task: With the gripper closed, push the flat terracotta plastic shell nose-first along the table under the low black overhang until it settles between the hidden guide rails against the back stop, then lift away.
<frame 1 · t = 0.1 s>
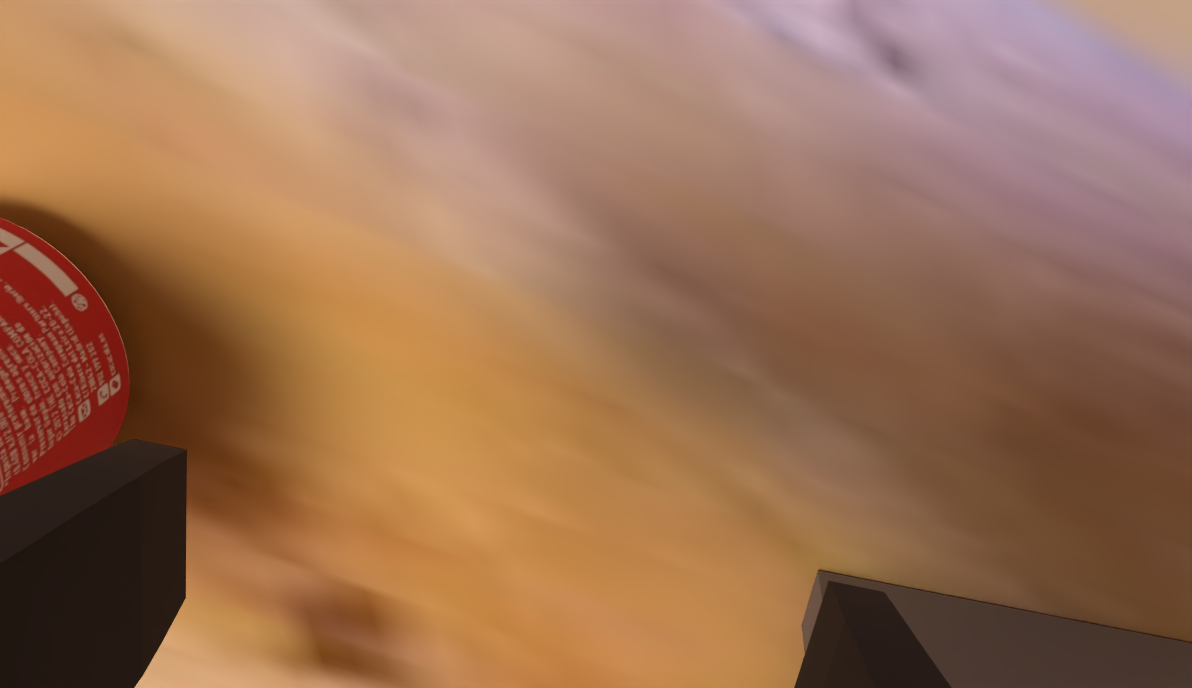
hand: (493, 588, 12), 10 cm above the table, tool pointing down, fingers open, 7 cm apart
beverage can: (18, 329, 23), on the table
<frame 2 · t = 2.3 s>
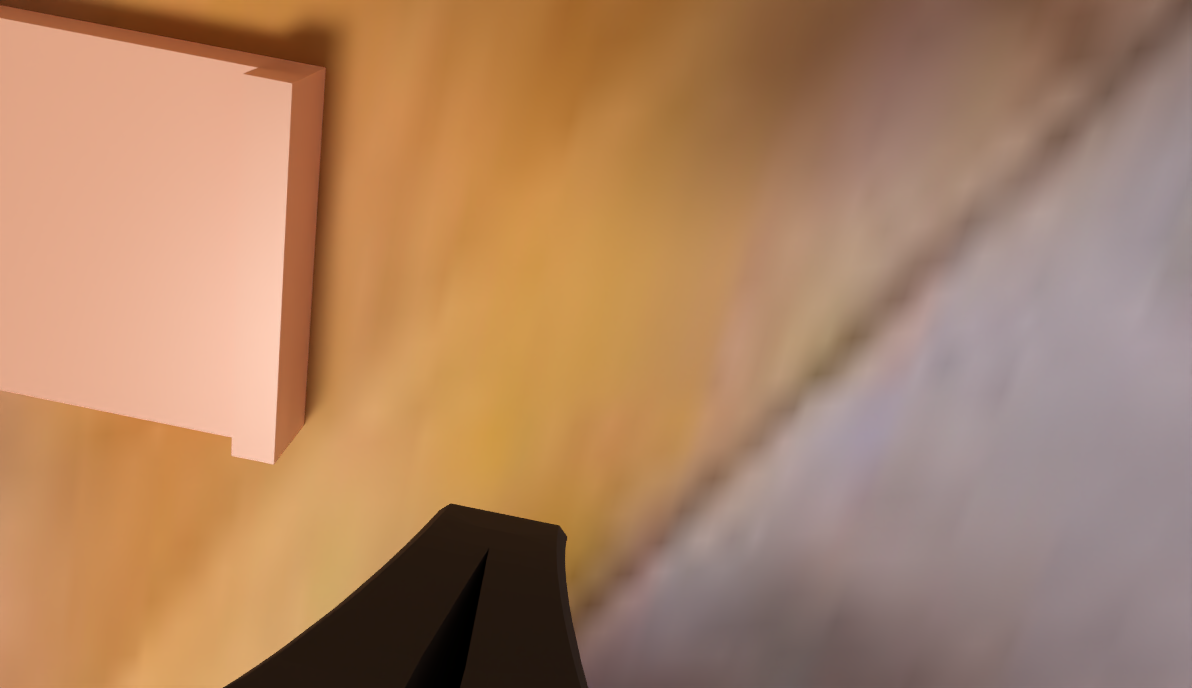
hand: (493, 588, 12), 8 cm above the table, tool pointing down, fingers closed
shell: (84, 208, 20), on the table
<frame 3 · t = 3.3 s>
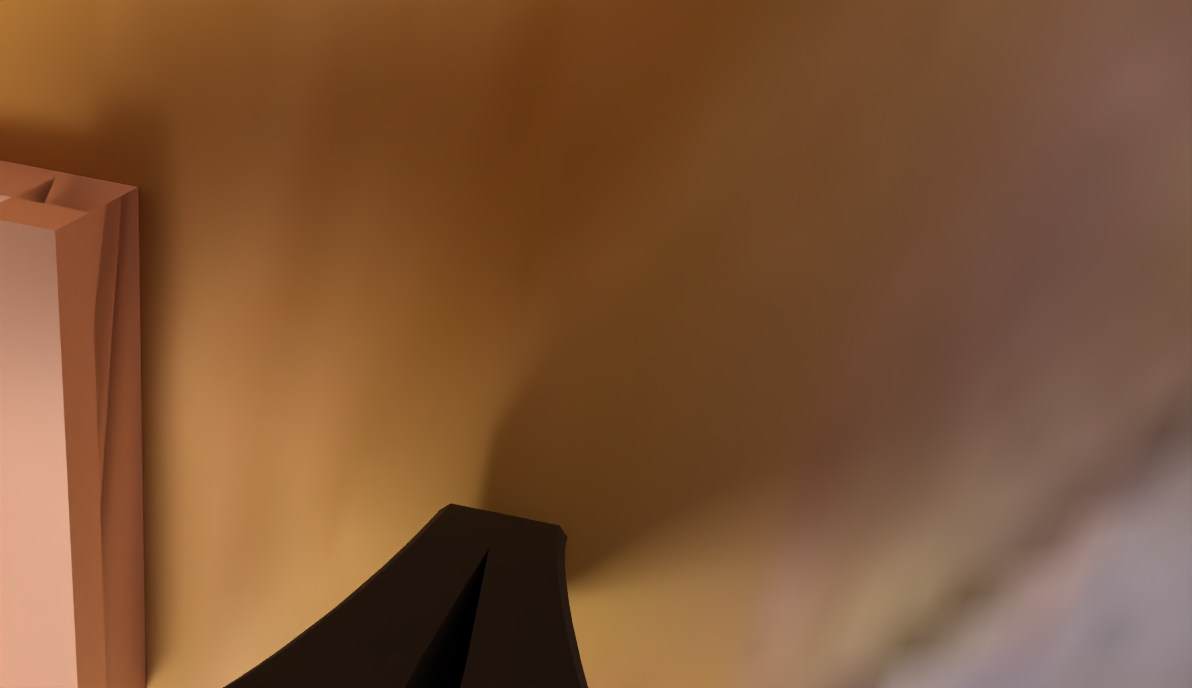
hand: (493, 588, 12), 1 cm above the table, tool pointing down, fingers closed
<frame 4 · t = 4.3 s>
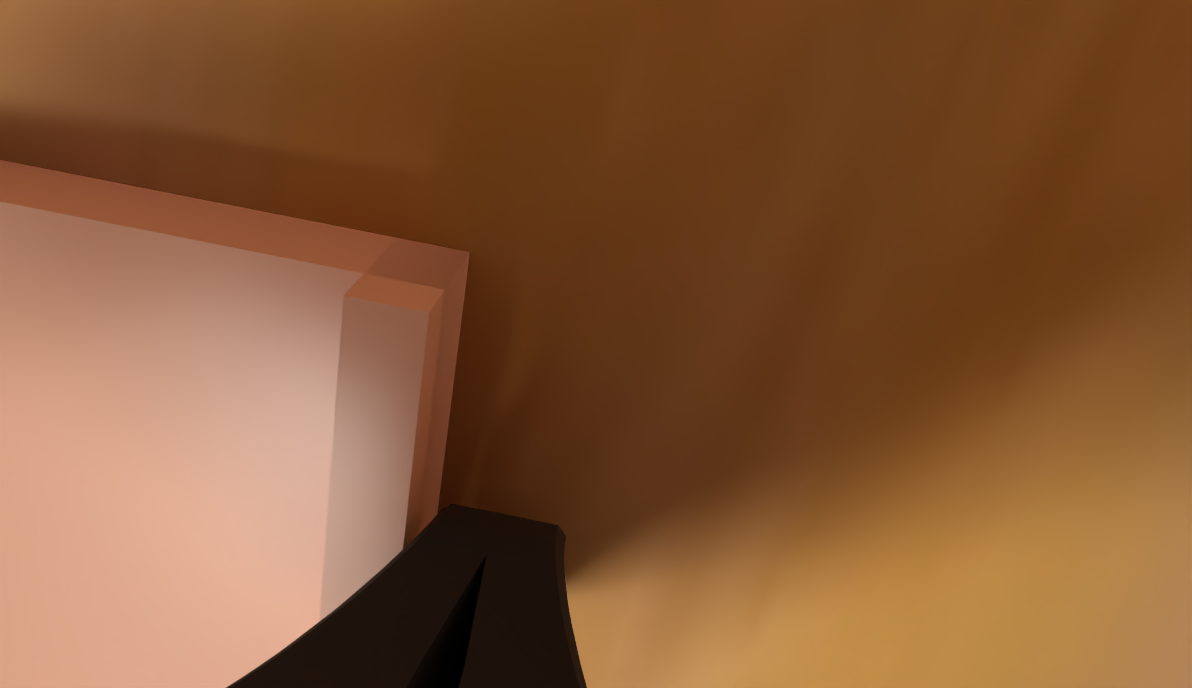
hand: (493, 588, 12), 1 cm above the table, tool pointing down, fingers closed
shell: (75, 448, 13), on the table, touching gripper
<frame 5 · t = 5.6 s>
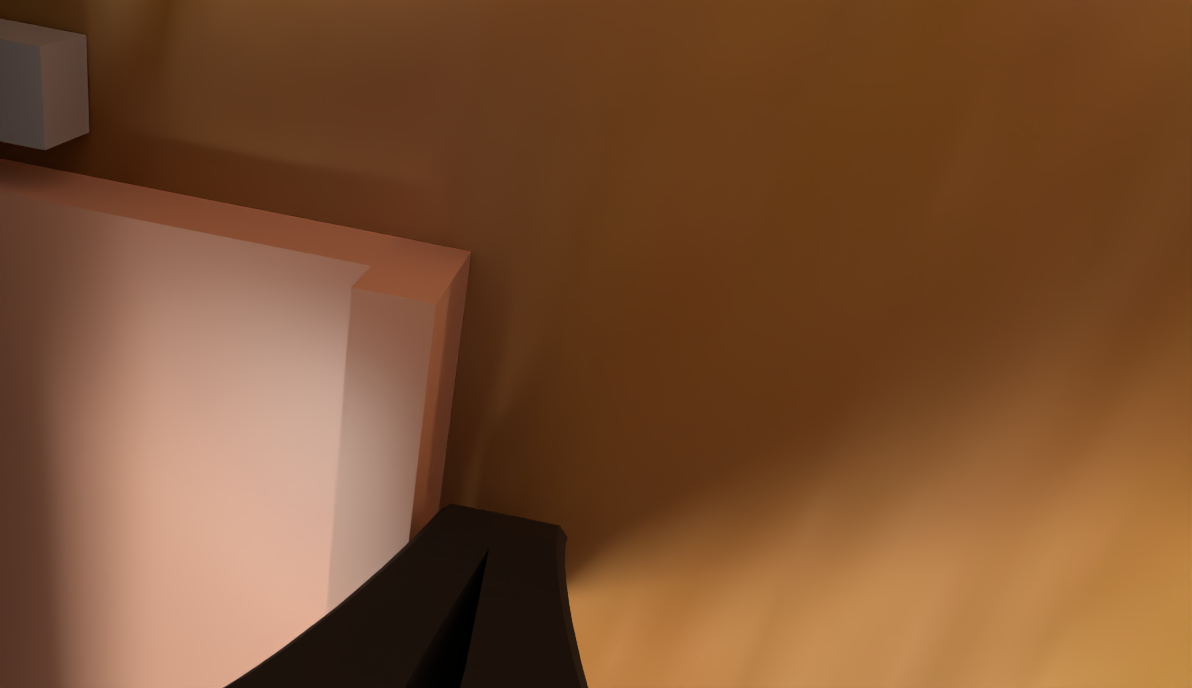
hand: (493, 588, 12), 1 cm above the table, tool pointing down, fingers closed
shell: (83, 440, 13), on the table
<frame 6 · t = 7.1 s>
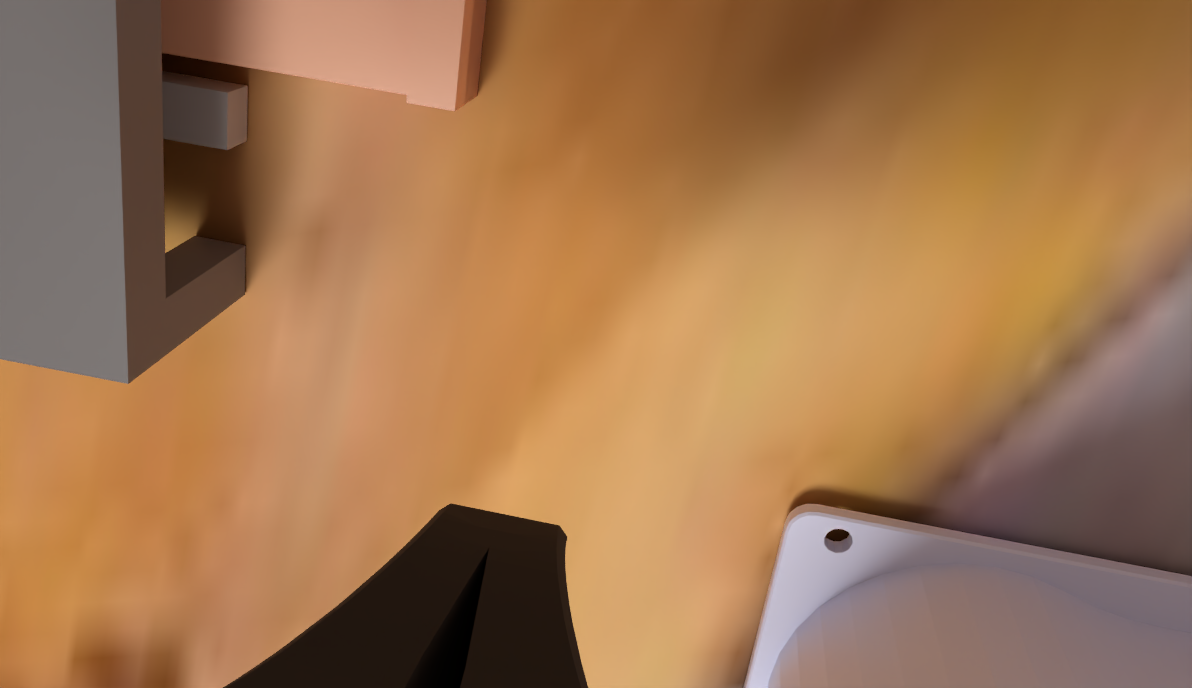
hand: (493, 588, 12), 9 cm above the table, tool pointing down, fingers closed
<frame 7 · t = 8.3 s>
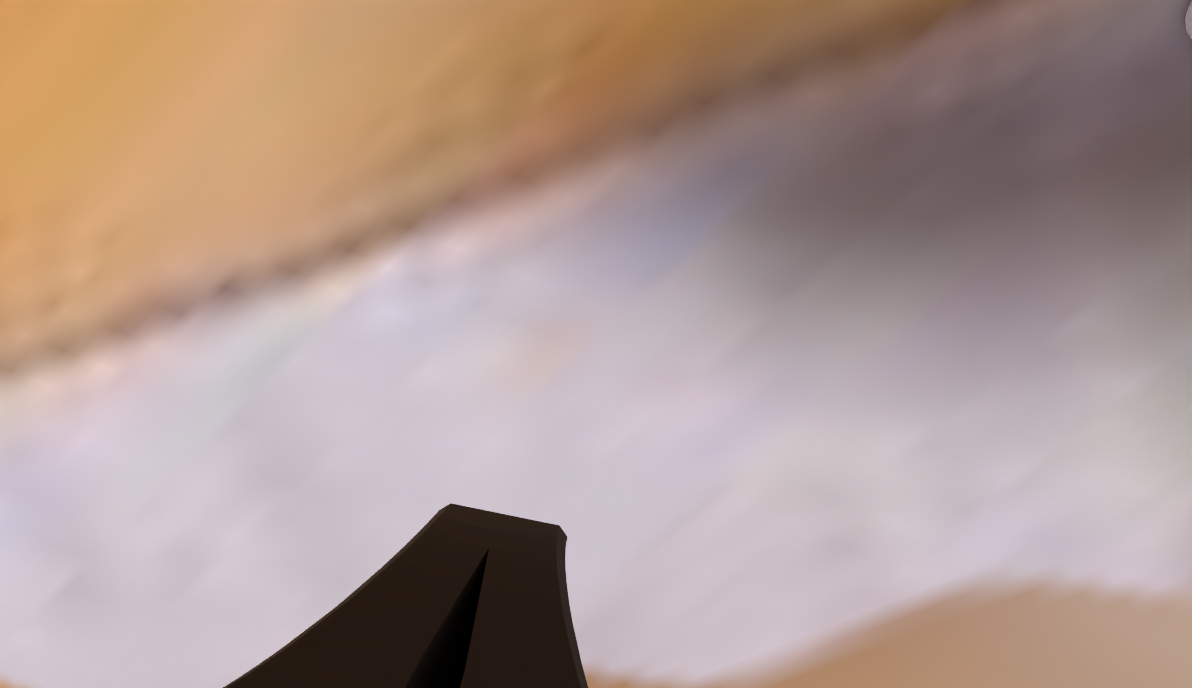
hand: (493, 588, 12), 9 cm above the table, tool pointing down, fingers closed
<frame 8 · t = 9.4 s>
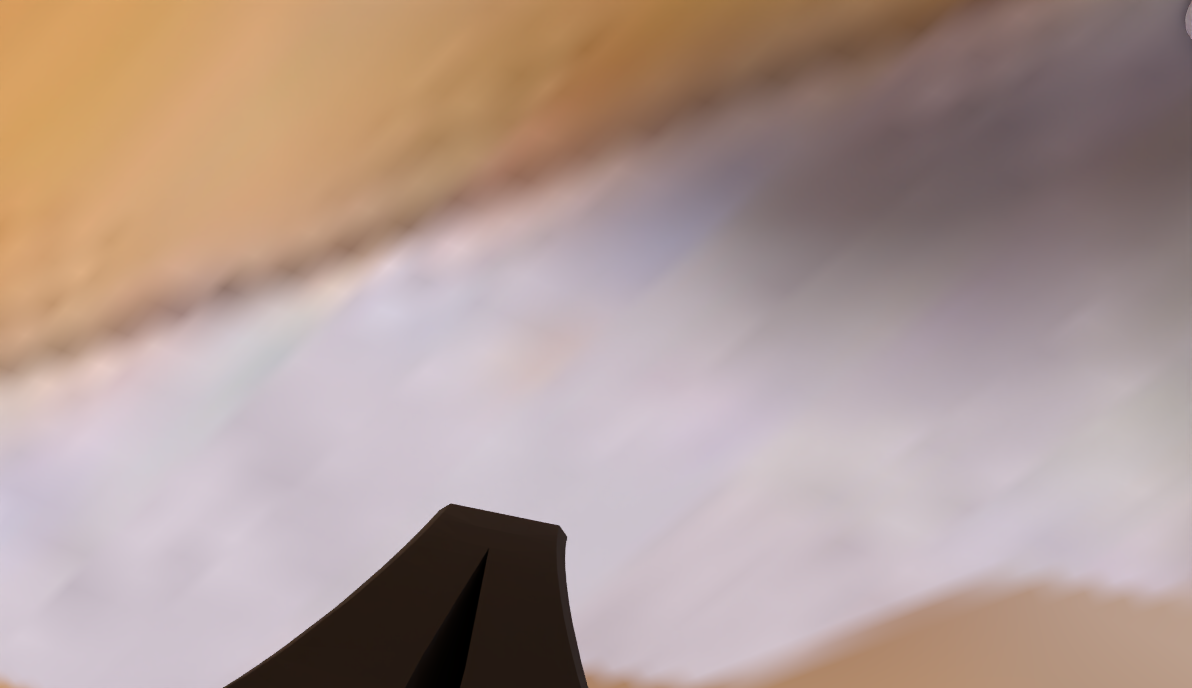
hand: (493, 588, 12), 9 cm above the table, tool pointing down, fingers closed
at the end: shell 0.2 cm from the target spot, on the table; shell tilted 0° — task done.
